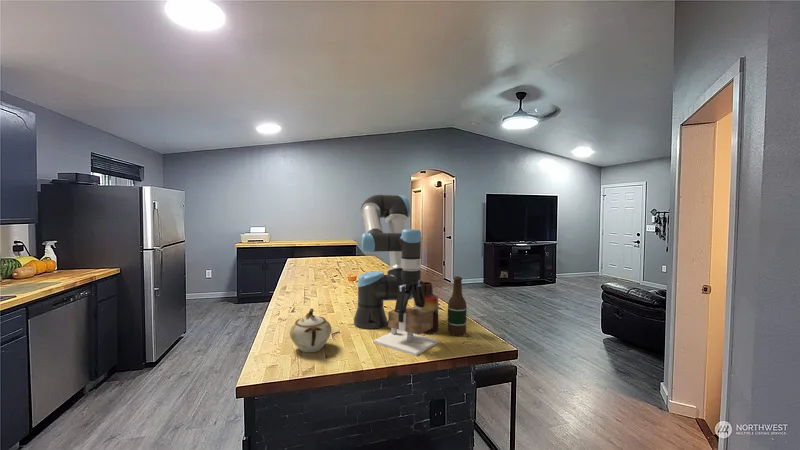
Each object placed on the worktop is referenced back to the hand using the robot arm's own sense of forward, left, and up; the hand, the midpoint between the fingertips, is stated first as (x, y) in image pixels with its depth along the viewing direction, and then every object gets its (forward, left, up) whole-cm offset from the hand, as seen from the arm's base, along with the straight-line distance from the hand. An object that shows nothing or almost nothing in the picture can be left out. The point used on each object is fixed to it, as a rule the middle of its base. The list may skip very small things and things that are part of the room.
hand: (410, 326), depth 133 cm
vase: (-4, +18, -7) cm, 20 cm away
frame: (0, 0, 0) cm, 0 cm away
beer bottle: (+9, +22, -7) cm, 25 cm away
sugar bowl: (-27, -26, -7) cm, 38 cm away
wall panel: (-2, 0, -7) cm, 7 cm away
